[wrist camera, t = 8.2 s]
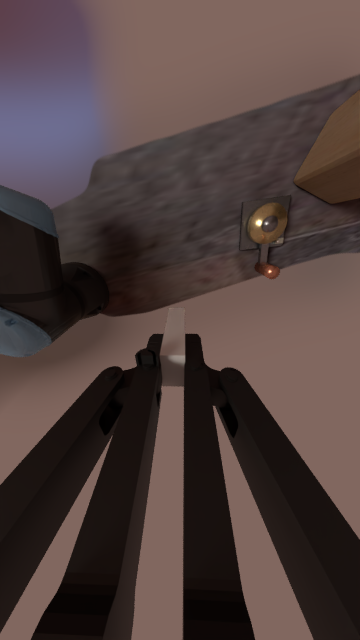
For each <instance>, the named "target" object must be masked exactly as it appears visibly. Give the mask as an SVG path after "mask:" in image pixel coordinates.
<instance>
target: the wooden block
mask: <svg viewBox="0 0 360 640" xmlns="http://www.w3.org/2000/svg"><path fill="white" fill-rule="evenodd" d="M294 183H295V184H296V185H297V186H299V187H301V188H303V189H304V190H306V191H308V192H310V193H312V194H313V195H315V196H317V197H319V198H321V199H323V200H324V201H326V202H328V203H330V204H334V203H339V202H344V201H349V200H353V199H358V198H360V90H359V91H357V92H356V93H355V94H354V95H353V96H352V97H350V98H349V99H348V100H347V101H346V102H345V103H343V104H342V105H341V106H340V107H339V108H338V109H336V110H335V111H334V112H333V114H332V115H331V116H330V117H329V119H328V121H327V123H326V124H325V126H324V128H323V130H322V131H321V133H320V135H319V136H318V138H317V140H316V142H315V143H314V145H313V147H312V149H311V150H310V152H309V154H308V155H307V157H306V159H305V161H304V162H303V164H302V166H301V167H300V169H299V171H298V173H297V174H296V176H295V178H294Z"/></svg>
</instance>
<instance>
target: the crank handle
mask: <svg viewBox="0 0 360 640" xmlns="http://www.w3.org/2000/svg"><path fill="white" fill-rule="evenodd" d="M286 225H287V212H286V209H285V208H284V207H283V206H282V205H281V204H279V203H268V204H265V205H263V206H261V207H259V208H257V209H256V210H255V211H254V212H253V213H252V215H251V216H250V218H249V221H248V224H247V233H248V236H249V238H250V239H251V240H252V241H253V242H256V243H260V247H259V257H258V262H257V263H256V264H255V270H256V271H257V272H259V273H261V274H262V275H264V276H266V277H267V278H269V279H275V278H276V277H277V276H278V275H279V273H280V269H279V268H278V267H276V266H273V265H271V264H268V263H267V255H268V246H269V243H271V242H273V241H274V240H276V239H277V238H278V237H279V236H280V235H281V234H282V233H283V231H284V230H285V227H286Z"/></svg>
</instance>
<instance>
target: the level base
mask: <svg viewBox="0 0 360 640" xmlns="http://www.w3.org/2000/svg"><path fill="white" fill-rule="evenodd" d="M290 198H291V195H288V196H281V197H274V198H267V199H261V200H254V201H247V202H242V210H241V226H240V242H239V250H247V249H256V248H259V247H260V243H256V242H253V241H252V240H251V239H250V238H249V236H248V233H247V224H248V221H249V218H250V216H251V215H252V213H253V212H254V211H255V210H256V209H257V208H259V207H261V206H263V205H265V204H268V203H279V204H281V205H282V206H283V207H284V208H285V209H286V212H287V215H288V209H289V204H290ZM284 231H285V230H284ZM284 231H283V233H282V234H281V235H280V236H279V237H278V238H277V239H276V240H274V241H273V242H271V243H269V246H268V247H274V246H282V243H283V239H284V238H283V237H284Z"/></svg>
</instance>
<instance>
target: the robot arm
mask: <svg viewBox="0 0 360 640" xmlns="http://www.w3.org/2000/svg"><path fill="white" fill-rule="evenodd" d="M58 238H59V236H58V234H57V232H56V226H55V221H54V216H53V213H52V211H51V209H50V208H49V207H48V206H47V205H46V204H45V203H44V202H42V201H41V200H39V199H36V198H34V197H31V196H28V195H26V194H23V193H20V192H18V191H15V190H12V189H9V188H7V187H4V186H1V185H0V354H4V355H7V356H13V357H27V356H31V355H33V354H36V353H37V352H38V351H40V350H42V349H43V348H44V347H47V346H49V345H50V344H51V343H52V342H53V341H55V340H56V339H57V338H58V337H59V336H61V335H62V334H63V333H65V332H66V331H67V330H68V329H69V328H70V327H72V326H73V325H74V324H76V323H77V322H78V321H79V320H82V319H85V318H89V317H92V316H95V315H97V314H99V313H100V312H101V311H103V310H104V309H105V308H106V306H107V304H108V301H109V292H108V288H107V286H106V284H105V282H104V280H103V279H102V277H101V276H100V275H99V274H98V273H97V272H96V271H95V270H93V269H92V268H90V267H89V266H87V265H84V264H81V263H76V262H70V263H66V264H62V265H61V259H60V251H59V243H58ZM135 358H136V363H137V366H136V367H135V368H132V369H129V370H124V371H123V370H122V369H121V368H120V367H116V366H113V367H109V368H107V369H105V370H104V371H102V372H101V373H100V374H99V375H98V377H97V378H96V379H95V380H94V381H93V382H92V383H91V384H90V385H89V387H88V388H87V389H86V390H85V391H84V392H83V393H82V394H81V396H80V397H79V398H78V399H77V400H76V402H74V403H73V405H72V406H71V407H70V408H69V409H68V410H67V411H66V412H65V413H64V415H63V416H62V417H61V418H60V419H59V420H58V421H57V422H56V424H55V425H54V426H53V427H52V428H51V429H50V430H49V431H48V432H47V433H46V435H45V436H44V437H43V438H42V439H41V440H40V441H39V443H38V444H37V445H36V446H35V447H34V448H33V449H32V450H31V451H30V453H29V454H28V455H27V456H26V457H25V458H24V459H23V460H22V462H21V463H20V464H19V465H18V466H17V467H16V468H15V469H14V470H13V472H12V473H11V474H10V475H9V476H8V477H7V478H6V479H5V480H4V482H3V483H2V484H1V485H0V632H1V631H2V629H3V627H4V626H5V624H6V622H7V620H8V619H9V617H10V615H11V613H12V611H13V610H14V608H15V606H16V604H17V603H18V601H19V599H20V597H21V596H22V594H23V592H24V590H25V588H26V587H27V585H28V583H29V581H30V579H31V578H32V576H33V574H34V573H35V571H36V569H37V567H38V566H39V564H40V562H41V560H42V558H43V557H44V555H45V553H46V551H47V550H48V548H49V546H50V544H51V543H52V541H53V539H54V537H55V536H56V533H57V532H58V530H59V528H60V527H61V525H62V523H63V521H64V520H65V518H66V516H67V514H68V512H69V511H70V509H71V507H72V506H73V504H74V502H75V500H76V498H77V497H78V495H79V493H80V491H81V490H82V488H83V486H84V484H85V483H86V481H87V479H88V477H89V476H90V474H91V472H92V470H93V468H94V467H95V465H96V463H97V461H98V460H99V458H100V456H101V454H102V453H103V451H104V449H105V447H106V445H107V444H108V442H109V440H110V438H111V436H112V435H113V437H112V439H111V442H110V445H109V448H108V451H107V454H106V457H105V460H104V463H103V465H102V468H101V471H100V474H99V477H98V480H97V483H96V486H95V489H94V491H93V494H92V497H91V500H90V503H89V506H88V509H87V511H86V515H85V517H84V520H83V523H82V526H81V529H80V532H79V534H78V537H77V540H76V544H75V546H74V549H73V552H72V555H71V558H70V561H69V563H68V566H67V569H66V572H65V575H64V577H63V580H62V582H61V585H60V587H59V589H58V591H57V593H56V594H55V596H54V598H53V599H52V601H51V602H50V604H49V605H48V607H47V609H46V610H45V611H44V613H43V615H42V617H41V619H40V621H39V623H38V625H37V628H36V629H35V632H34V633H33V636H32V638H31V640H131V635H132V627H133V617H134V601H135V586H136V578H137V571H138V564H139V556H140V549H141V541H142V533H143V527H144V519H145V512H146V505H147V497H148V490H149V483H150V475H151V468H152V460H153V453H154V446H155V438H156V431H157V424H158V417H159V409H160V402H161V395H162V392H161V386H184V502H183V503H184V504H183V507H184V509H183V640H255V637H254V633H253V628H252V624H251V621H250V617H249V614H248V611H247V607H246V604H245V600H244V596H243V591H242V585H241V580H240V574H239V567H238V561H237V555H236V548H235V542H234V537H233V530H232V523H231V517H230V511H229V505H228V499H227V493H226V486H225V480H224V474H223V467H222V461H221V454H220V448H219V442H218V436H217V429H216V424H215V417H214V411H213V405H214V406H216V409H217V412H218V414H219V416H220V419H221V421H222V423H223V426H224V428H225V431H226V433H227V435H228V438H229V440H230V442H231V445H232V447H233V450H234V452H235V454H236V456H237V459H238V461H239V464H240V466H241V468H242V471H243V473H244V475H245V478H246V480H247V482H248V485H249V487H250V490H251V492H252V495H253V497H254V499H255V502H256V504H257V506H258V509H259V511H260V513H261V516H262V518H263V521H264V523H265V525H266V528H267V530H268V532H269V535H270V537H271V539H272V542H273V544H274V546H275V549H276V551H277V554H278V556H279V558H280V561H281V563H282V565H283V567H284V570H285V572H286V575H287V577H288V580H289V582H290V584H291V587H292V589H293V591H294V594H295V596H296V599H297V601H298V603H299V605H300V608H301V610H302V613H303V615H304V617H305V620H306V622H307V624H308V627H309V629H310V632H311V634H312V636H313V639H314V640H360V539H359V538H358V537H357V535H356V534H355V532H354V531H353V530H352V528H351V527H350V525H349V524H348V523H347V521H346V520H345V518H344V517H343V515H342V514H341V513H340V511H339V510H338V508H337V507H336V506H335V504H334V503H333V502H332V500H331V499H330V497H329V496H328V494H327V493H326V492H325V490H324V489H323V487H322V486H321V484H320V483H319V482H318V480H317V479H316V477H315V476H314V475H313V473H312V472H311V470H310V469H309V468H308V466H307V465H306V463H305V462H304V460H303V459H302V458H301V456H300V455H299V453H298V452H297V451H296V449H295V448H294V446H293V445H292V444H291V442H290V441H289V439H288V438H287V436H286V435H285V434H284V432H283V431H282V429H281V428H280V427H279V425H278V424H277V422H276V421H275V420H274V418H273V417H272V415H271V414H270V412H269V411H268V410H267V409H266V407H265V405H264V404H263V403H262V401H261V400H260V398H259V397H258V396H257V394H256V393H255V391H254V390H253V389H252V387H251V386H250V384H249V383H248V381H247V380H246V379H245V377H244V376H243V374H241V372H240V371H238V370H236V369H234V368H224V369H222V370H221V371H217V370H214V369H211V368H209V367H208V366H207V365H206V364H205V362H204V358H203V351H202V345H201V338H200V337H199V335H198V334H185V308H169V311H168V316H167V321H166V326H165V331H164V334H153V335H152V336H151V337H150V338H149V341H148V344H147V348H145V349H142V350H140V351H139V352H137V353H136V355H135ZM113 433H114V434H113Z"/></svg>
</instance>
